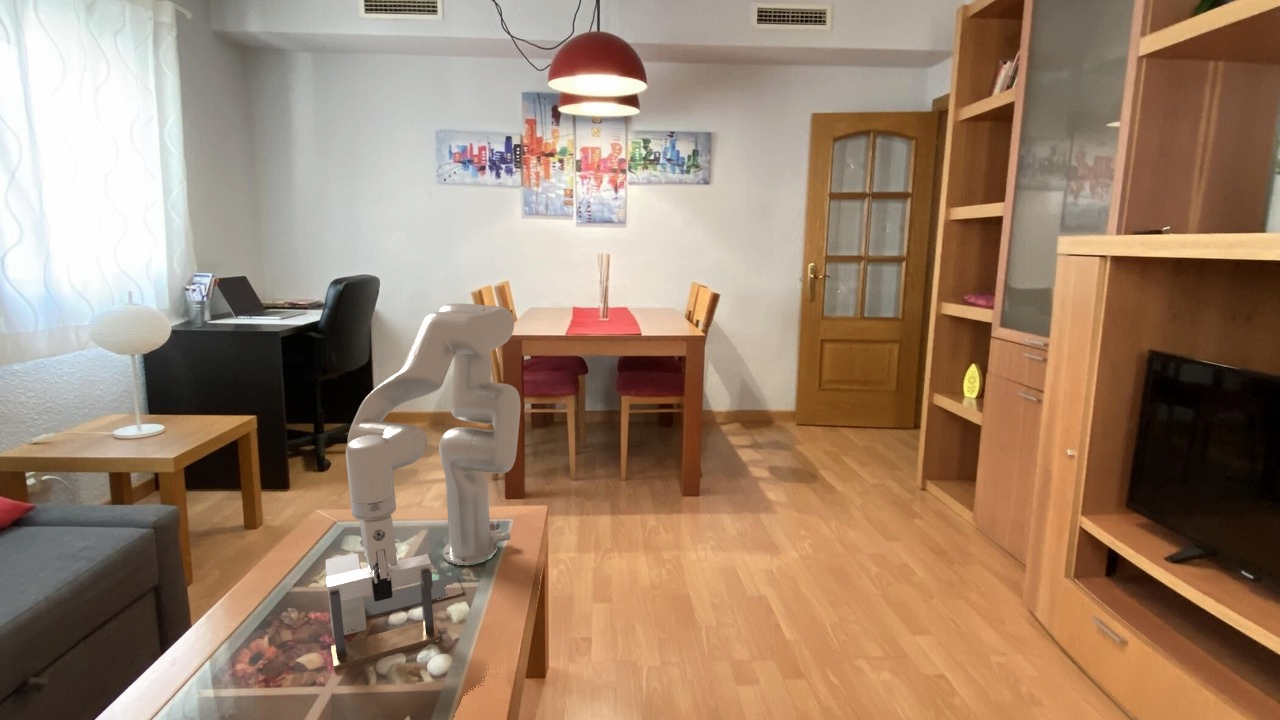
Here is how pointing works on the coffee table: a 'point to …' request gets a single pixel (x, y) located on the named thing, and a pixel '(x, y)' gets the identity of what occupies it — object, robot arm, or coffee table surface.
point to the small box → (352, 607)
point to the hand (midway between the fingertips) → (381, 591)
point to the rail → (361, 579)
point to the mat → (405, 598)
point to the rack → (383, 634)
